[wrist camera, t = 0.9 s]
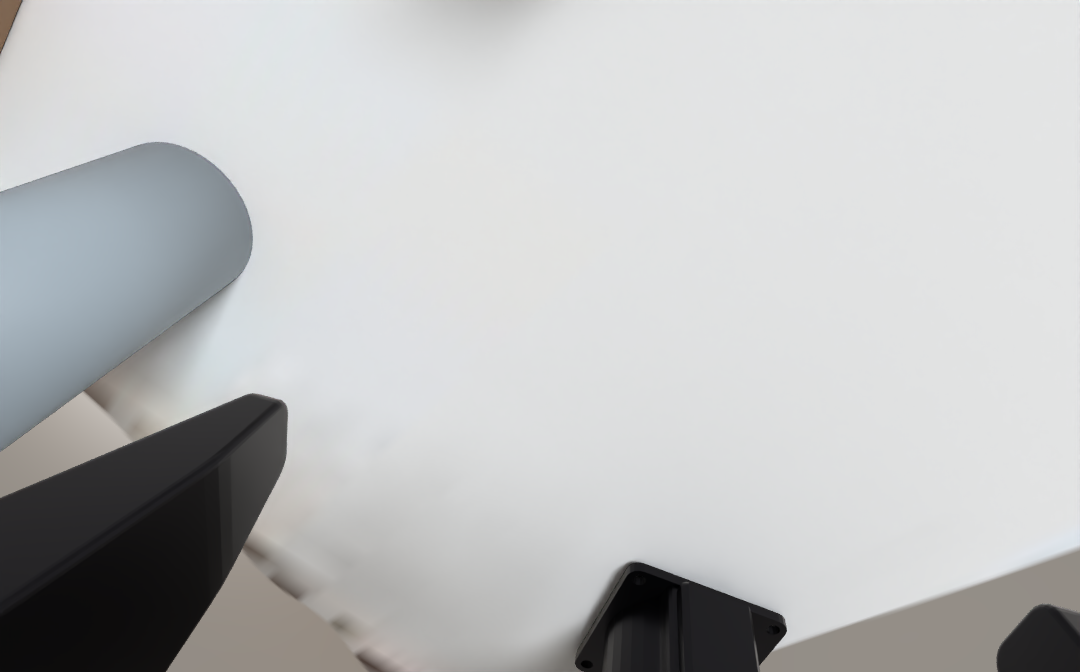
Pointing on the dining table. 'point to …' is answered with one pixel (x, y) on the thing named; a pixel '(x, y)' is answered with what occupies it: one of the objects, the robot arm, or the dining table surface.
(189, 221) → the tin
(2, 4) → the stand
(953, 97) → the dining table surface
